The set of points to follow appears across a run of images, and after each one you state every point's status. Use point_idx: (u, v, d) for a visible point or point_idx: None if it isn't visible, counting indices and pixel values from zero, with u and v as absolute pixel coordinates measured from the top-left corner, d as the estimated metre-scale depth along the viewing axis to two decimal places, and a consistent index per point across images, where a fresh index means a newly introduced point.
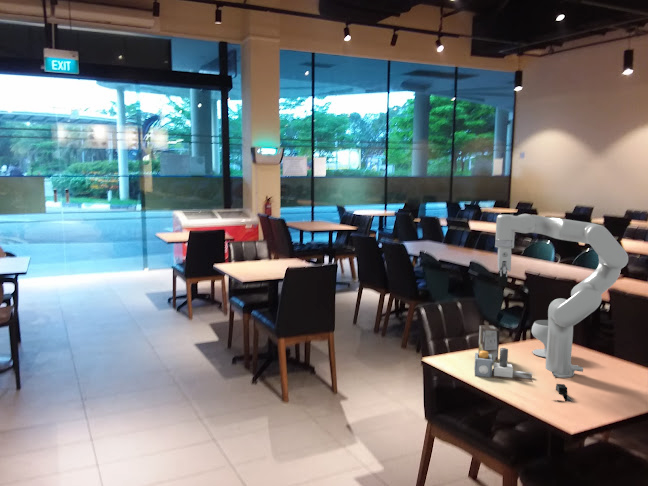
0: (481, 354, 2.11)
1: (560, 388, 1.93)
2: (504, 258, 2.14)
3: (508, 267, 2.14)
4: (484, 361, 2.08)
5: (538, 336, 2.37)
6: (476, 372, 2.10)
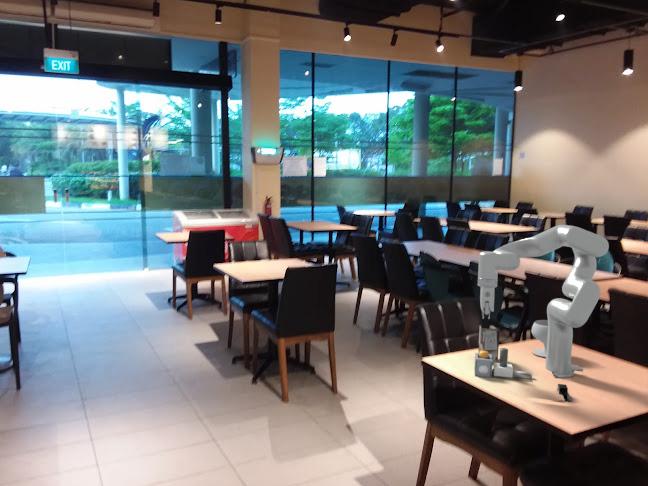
0: (481, 354, 2.11)
1: (560, 388, 1.93)
2: (487, 298, 2.04)
3: (491, 307, 2.04)
4: (484, 361, 2.08)
5: (538, 336, 2.37)
6: (476, 372, 2.10)
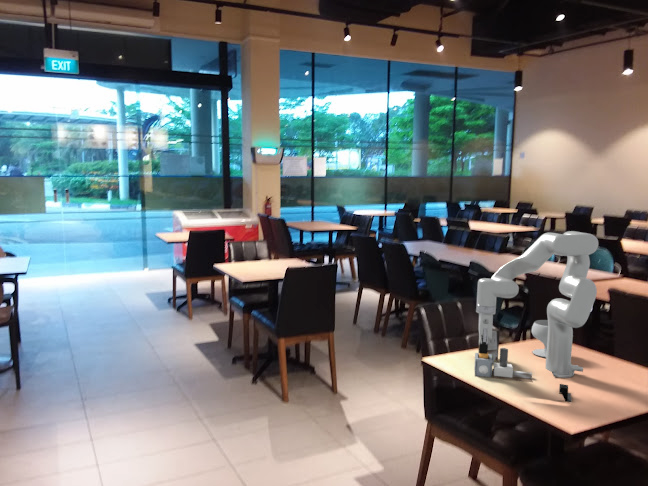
0: (481, 355, 2.11)
1: (561, 388, 1.93)
2: (485, 325, 2.06)
3: (489, 334, 2.06)
4: (484, 361, 2.08)
5: (538, 336, 2.37)
6: (476, 372, 2.10)
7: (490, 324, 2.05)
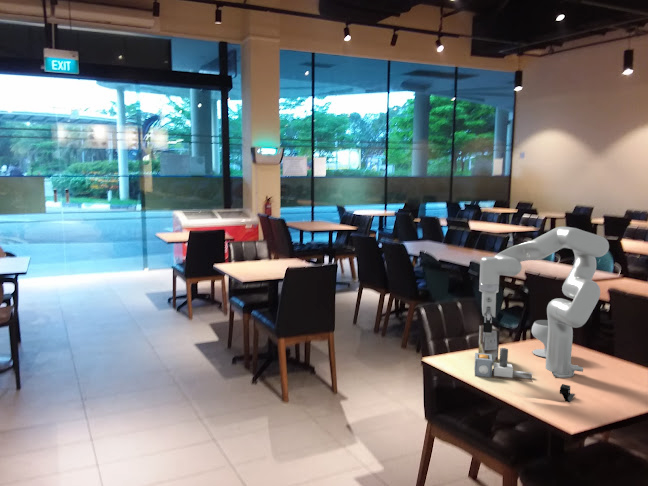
0: None
1: (561, 388, 1.93)
2: (488, 304, 2.04)
3: (492, 313, 2.04)
4: (484, 361, 2.08)
5: (538, 336, 2.37)
6: (476, 372, 2.10)
7: (493, 302, 2.04)
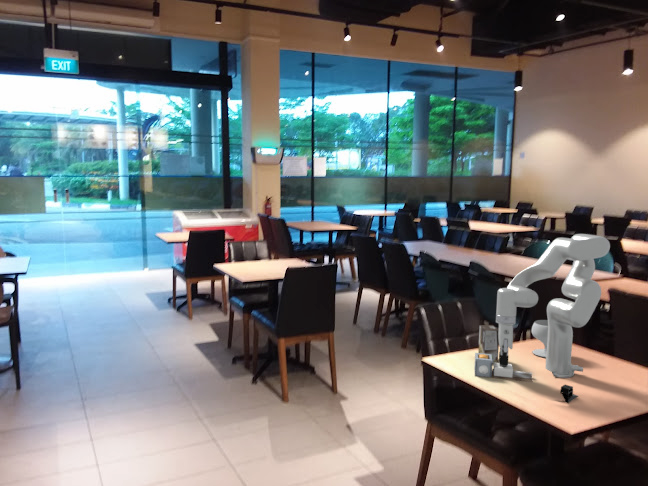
0: None
1: (562, 388, 1.93)
2: (506, 336, 2.04)
3: (510, 345, 2.04)
4: (484, 361, 2.08)
5: (538, 336, 2.37)
6: (476, 372, 2.10)
7: (510, 334, 2.04)
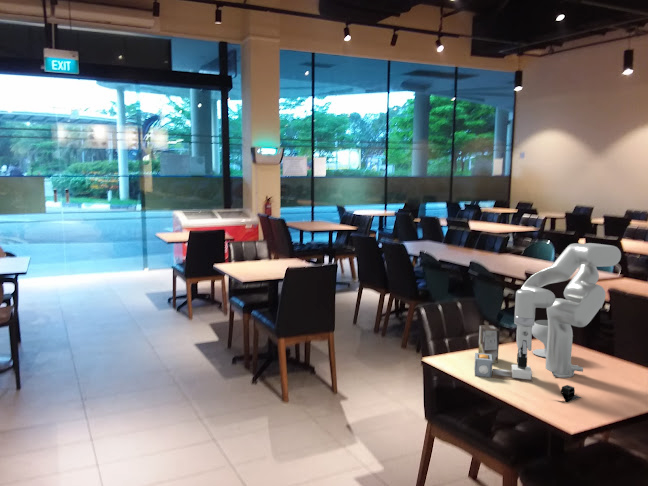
0: None
1: (562, 388, 1.93)
2: (525, 337, 2.02)
3: (529, 347, 2.02)
4: (484, 361, 2.08)
5: (538, 336, 2.37)
6: (476, 372, 2.10)
7: (529, 336, 2.02)
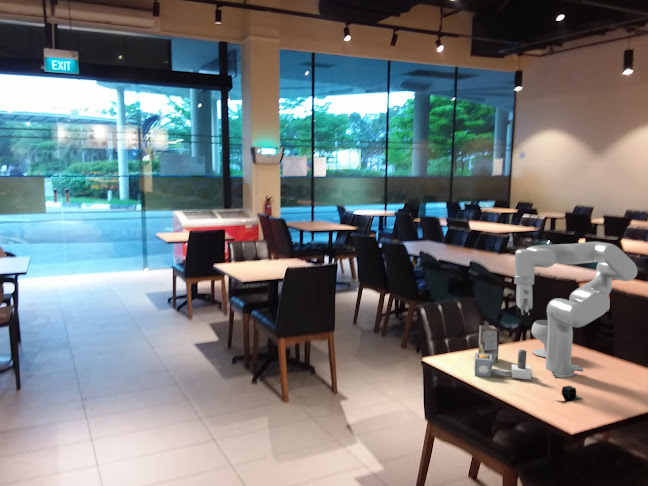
0: None
1: (563, 388, 1.93)
2: (525, 296, 2.05)
3: (530, 305, 2.05)
4: (484, 361, 2.08)
5: (538, 336, 2.37)
6: (476, 372, 2.10)
7: (530, 294, 2.05)
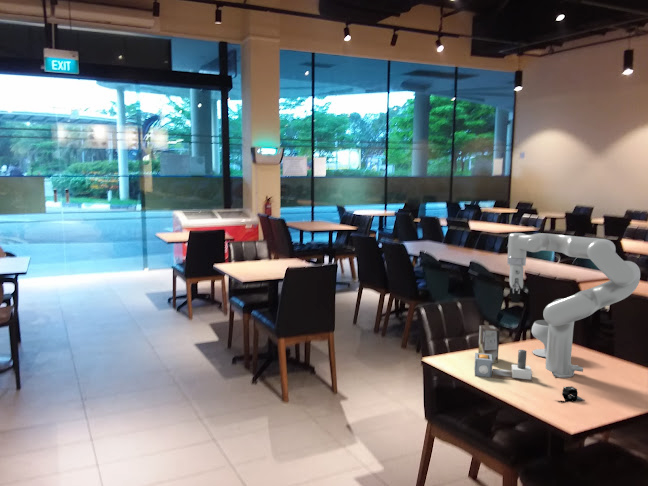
0: None
1: (564, 388, 1.93)
2: (517, 276, 2.22)
3: (520, 284, 2.21)
4: (484, 361, 2.08)
5: (538, 336, 2.37)
6: (476, 372, 2.10)
7: (521, 274, 2.21)
